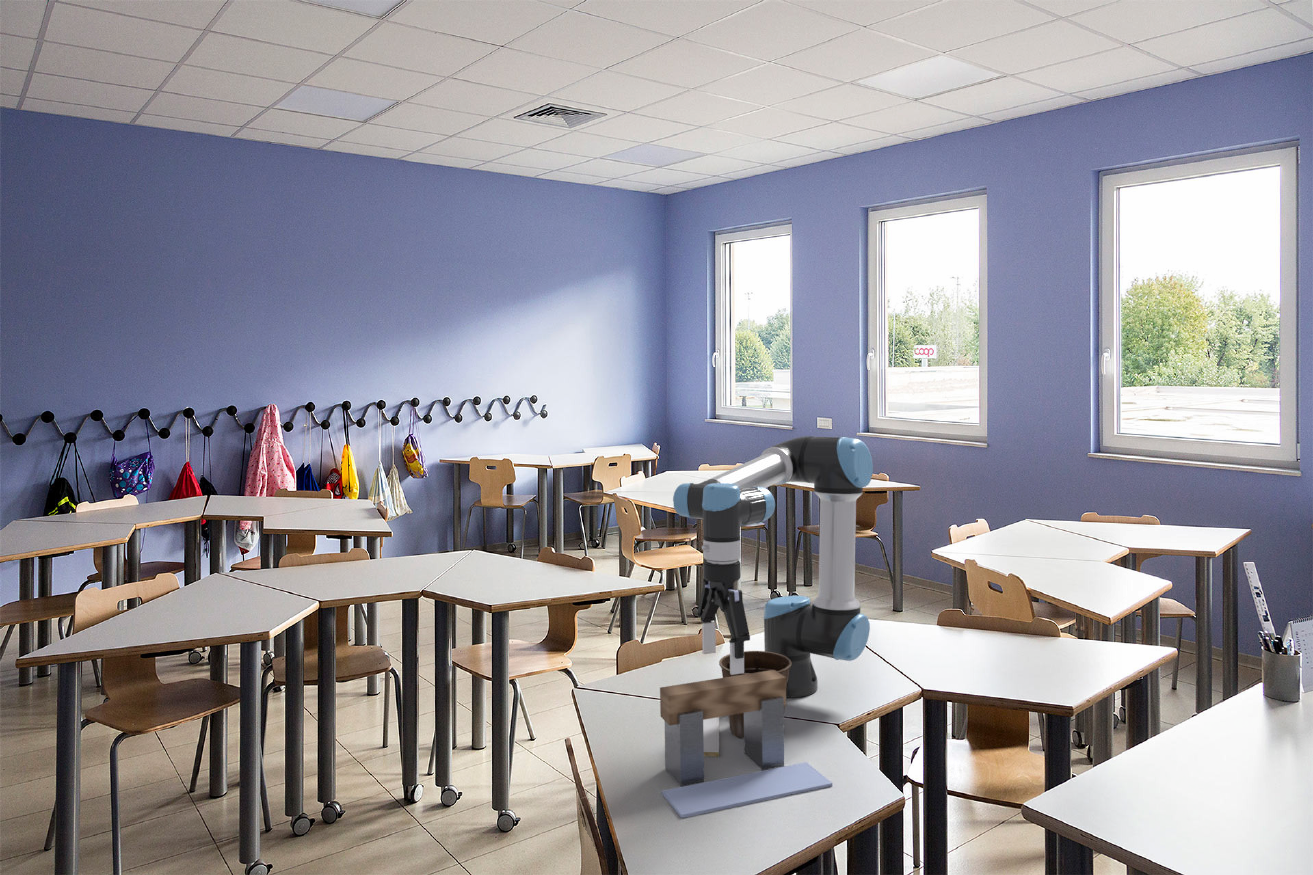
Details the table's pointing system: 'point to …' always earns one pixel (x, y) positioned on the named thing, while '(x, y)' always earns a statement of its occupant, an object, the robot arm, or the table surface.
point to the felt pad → (744, 789)
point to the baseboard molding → (711, 736)
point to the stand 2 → (765, 734)
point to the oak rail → (721, 695)
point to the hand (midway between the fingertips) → (722, 662)
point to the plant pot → (754, 664)
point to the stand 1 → (685, 748)
